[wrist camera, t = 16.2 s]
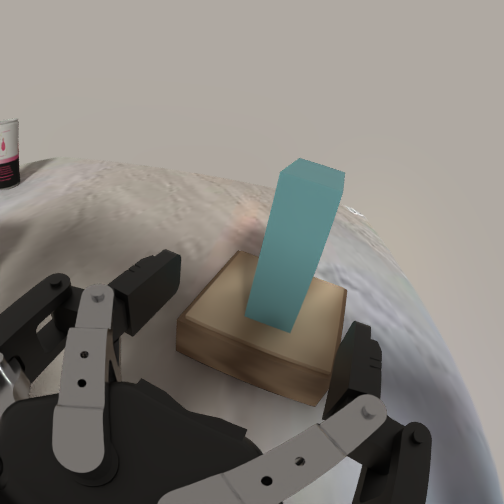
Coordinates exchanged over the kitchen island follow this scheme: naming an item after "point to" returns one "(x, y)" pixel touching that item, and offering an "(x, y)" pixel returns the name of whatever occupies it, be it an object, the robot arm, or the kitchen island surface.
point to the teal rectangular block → (294, 241)
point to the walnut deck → (264, 334)
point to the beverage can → (9, 154)
